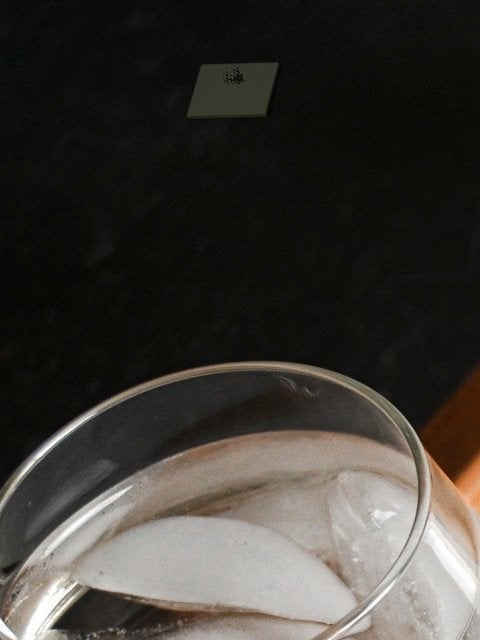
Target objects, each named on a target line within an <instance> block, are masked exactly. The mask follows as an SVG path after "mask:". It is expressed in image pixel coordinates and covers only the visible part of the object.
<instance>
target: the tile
mask: <svg viewBox="0 0 480 640" xmlns="http://www.w3.org/2000/svg"><path fill="white" fill-rule="evenodd" d="M234 66H235V67H234ZM237 67H238V69H237ZM226 68H227V69H226ZM234 69H235V71H233V70H234ZM279 69H280V64H279V62H245V63H241V62H239V63H213V64H212V63H210V64H207V63H206V64H201V65H200V67H199V72H198V75H197V79H196V82H195V85H194V89H193V93H192V96H191V100H190V103H189V106H188V110H187V113H186V118H187V119H188V120H197V119H198V120H199V119H200V120H201V119H233V118H234V119H236V118H237V119H240V118H267V116H268V113H269V107H270V104H271V100H272V97H273V92H274V89H275V86H276V85H275V84H276V81H277V78H278V77H277V76H278V73H279ZM223 70H224V71H223ZM237 70H239V72H240V73H239V75H241V74H243V75H242V77H243V80H244V81H243V82H240V84H237V83H239V82H236V83H234V82H235V81H232V82H230V81H231V80H228V82H226V81H227V79H226V78H227V77H228V79H230V78H232V80H233V79H234V77H233V76H235V77H237V76H236V74H238V72H236V71H237ZM226 71H227V73H226ZM234 72H235V74H234ZM223 73H224V74H223ZM226 74H228V76H226ZM230 75H232V76H230ZM223 76H224V77H223ZM240 78H241V77H240ZM240 78H239V79H240ZM224 80H225V81H224ZM236 81H237V80H236ZM241 81H242V80H241ZM224 82H225V83H224ZM227 83H229V84H227ZM232 83H233V84H232Z"/></svg>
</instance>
